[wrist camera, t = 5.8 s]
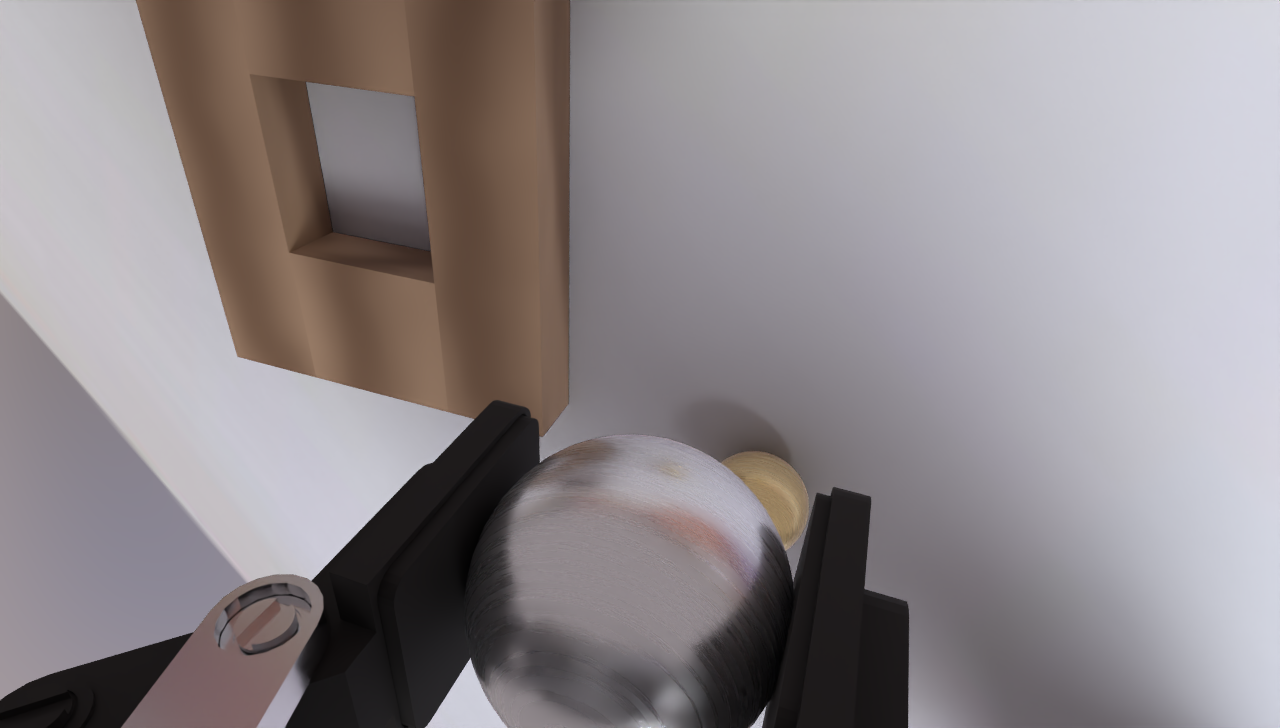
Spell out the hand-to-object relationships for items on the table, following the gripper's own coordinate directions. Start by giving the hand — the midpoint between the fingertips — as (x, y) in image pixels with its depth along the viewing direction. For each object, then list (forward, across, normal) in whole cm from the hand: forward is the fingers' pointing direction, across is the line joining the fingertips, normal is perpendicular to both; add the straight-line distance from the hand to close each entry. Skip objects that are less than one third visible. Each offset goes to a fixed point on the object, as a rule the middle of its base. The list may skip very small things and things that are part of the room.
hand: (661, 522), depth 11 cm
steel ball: (-2, 0, 0) cm, 2 cm away
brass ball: (+12, -1, +10) cm, 16 cm away
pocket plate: (+14, +15, 0) cm, 21 cm away
